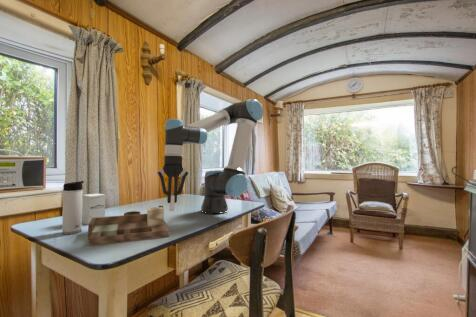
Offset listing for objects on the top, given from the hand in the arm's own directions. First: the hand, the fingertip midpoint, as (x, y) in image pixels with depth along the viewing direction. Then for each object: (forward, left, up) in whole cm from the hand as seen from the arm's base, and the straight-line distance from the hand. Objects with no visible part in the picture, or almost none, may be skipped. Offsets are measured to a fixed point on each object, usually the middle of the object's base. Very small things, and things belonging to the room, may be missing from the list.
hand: (171, 210), depth 101 cm
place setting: (+11, -15, -8) cm, 21 cm away
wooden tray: (+16, +3, -7) cm, 18 cm away
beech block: (+7, 0, -5) cm, 8 cm away
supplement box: (+32, -22, -8) cm, 39 cm away
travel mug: (+37, -8, -8) cm, 38 cm away
